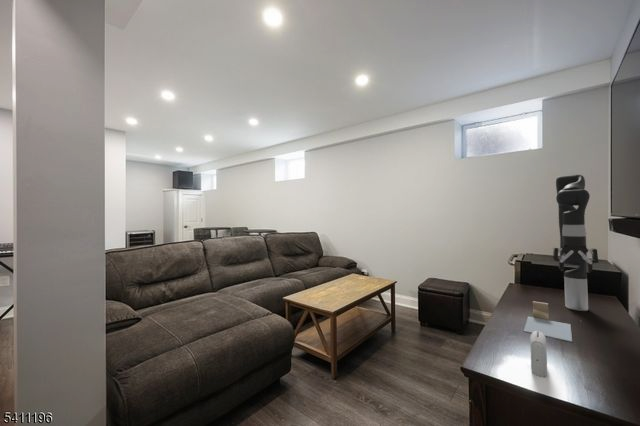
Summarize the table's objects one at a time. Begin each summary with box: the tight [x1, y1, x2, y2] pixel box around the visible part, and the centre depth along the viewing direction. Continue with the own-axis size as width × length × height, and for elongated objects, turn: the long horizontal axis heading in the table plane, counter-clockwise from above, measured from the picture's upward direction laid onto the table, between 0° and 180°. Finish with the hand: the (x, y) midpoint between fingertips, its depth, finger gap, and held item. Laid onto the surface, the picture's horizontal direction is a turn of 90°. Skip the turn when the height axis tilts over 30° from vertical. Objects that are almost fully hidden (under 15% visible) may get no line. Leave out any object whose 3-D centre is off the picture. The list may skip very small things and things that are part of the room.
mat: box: [523, 316, 573, 343], centre depth 124 cm, size 22×16×1 cm
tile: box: [532, 300, 550, 320], centre depth 135 cm, size 2×6×8 cm, turn 48°
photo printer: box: [529, 331, 548, 377], centre depth 92 cm, size 10×4×12 cm, turn 140°
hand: (575, 271), depth 117 cm, fingers open, 8 cm apart
